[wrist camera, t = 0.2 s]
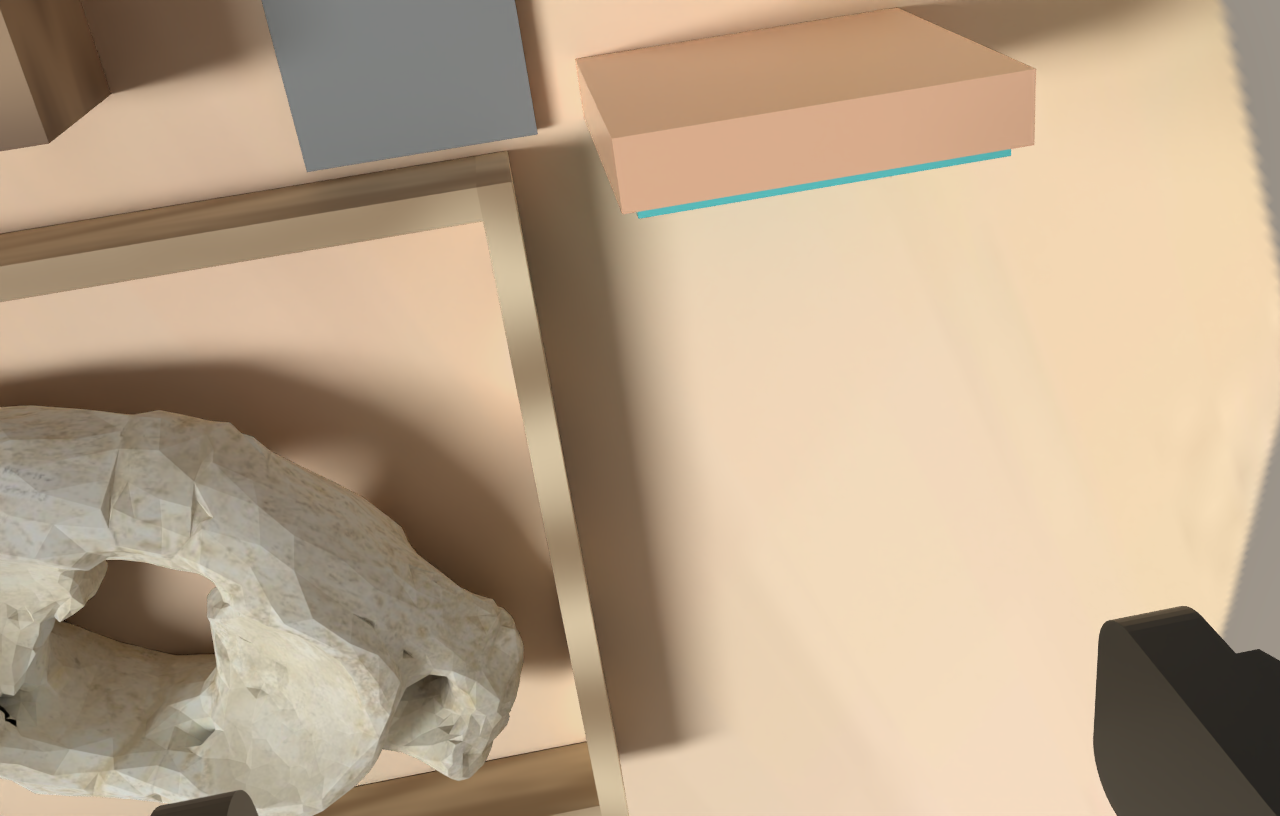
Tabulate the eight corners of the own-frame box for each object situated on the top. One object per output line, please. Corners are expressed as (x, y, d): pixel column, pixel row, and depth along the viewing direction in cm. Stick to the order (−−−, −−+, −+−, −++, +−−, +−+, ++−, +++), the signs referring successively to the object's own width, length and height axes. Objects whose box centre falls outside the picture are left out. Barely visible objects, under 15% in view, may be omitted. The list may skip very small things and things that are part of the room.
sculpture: (510, 576, 50) (475, 298, 39) (548, 814, 42) (519, 552, 32) (-121, 680, 46) (-349, 405, 35) (-199, 959, 39) (-515, 719, 28)
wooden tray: (-466, 310, 35) (-556, 358, 32) (507, 150, 37) (511, 181, 34) (-112, 897, 47) (-153, 975, 43) (619, 754, 48) (629, 819, 45)
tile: (574, 58, 36) (611, 138, 27) (896, 7, 37) (1035, 68, 28) (585, 127, 37) (624, 226, 28) (898, 76, 37) (1034, 157, 29)
